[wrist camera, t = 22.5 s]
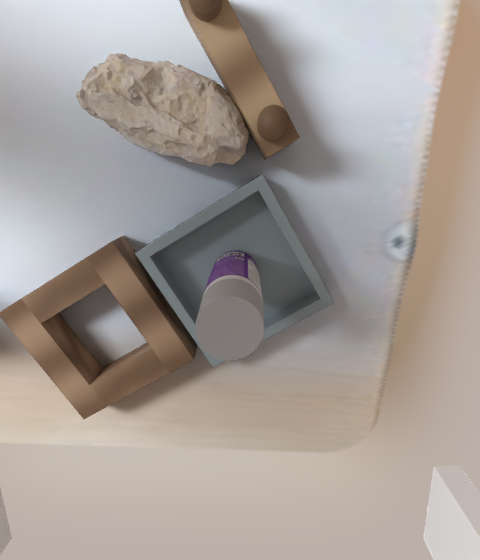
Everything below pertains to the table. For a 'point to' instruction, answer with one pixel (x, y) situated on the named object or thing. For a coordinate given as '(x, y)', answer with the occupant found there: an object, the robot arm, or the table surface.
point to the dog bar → (241, 73)
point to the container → (231, 308)
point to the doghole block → (70, 350)
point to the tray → (237, 236)
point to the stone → (166, 109)
